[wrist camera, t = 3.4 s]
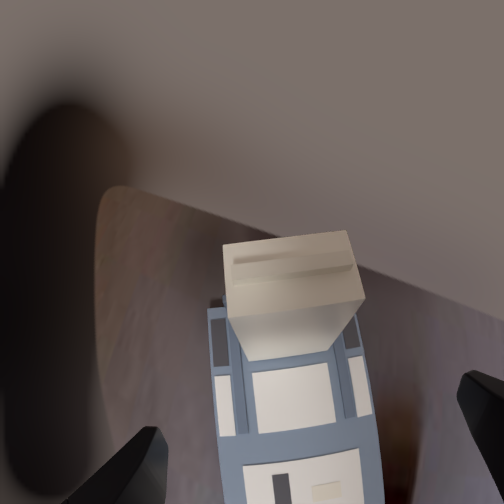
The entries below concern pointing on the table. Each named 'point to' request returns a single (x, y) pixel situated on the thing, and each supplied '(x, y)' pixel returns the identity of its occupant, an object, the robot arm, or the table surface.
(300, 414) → the switch housing
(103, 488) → the robot arm
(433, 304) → the table surface
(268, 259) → the switch tab
